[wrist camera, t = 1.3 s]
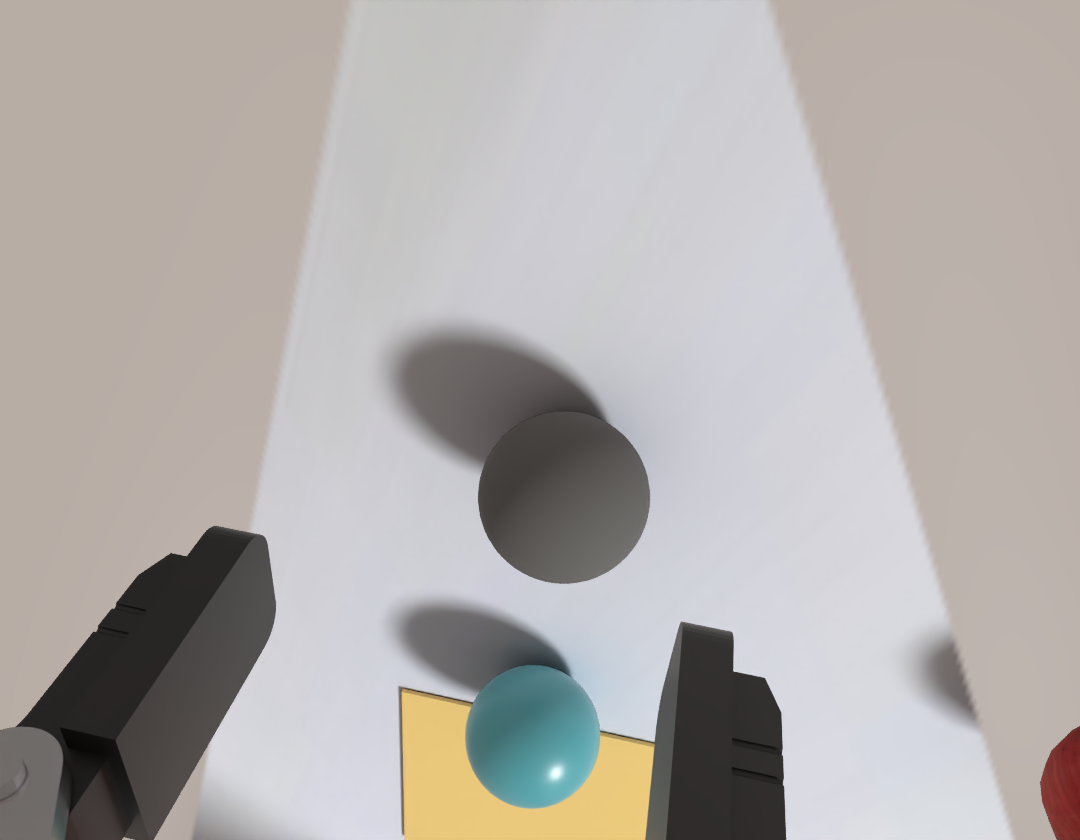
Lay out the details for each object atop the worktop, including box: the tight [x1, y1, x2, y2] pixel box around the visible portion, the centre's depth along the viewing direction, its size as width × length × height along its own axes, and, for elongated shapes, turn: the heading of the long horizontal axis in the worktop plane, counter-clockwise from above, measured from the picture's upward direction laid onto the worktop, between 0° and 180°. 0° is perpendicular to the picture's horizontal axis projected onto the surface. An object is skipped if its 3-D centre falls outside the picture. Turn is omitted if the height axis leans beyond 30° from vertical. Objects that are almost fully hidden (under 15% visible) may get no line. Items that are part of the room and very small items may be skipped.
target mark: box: [402, 689, 655, 840], centre depth 47 cm, size 14×14×1 cm
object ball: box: [465, 665, 600, 809], centre depth 39 cm, size 6×6×6 cm
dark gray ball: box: [478, 411, 650, 584], centre depth 31 cm, size 6×6×6 cm
